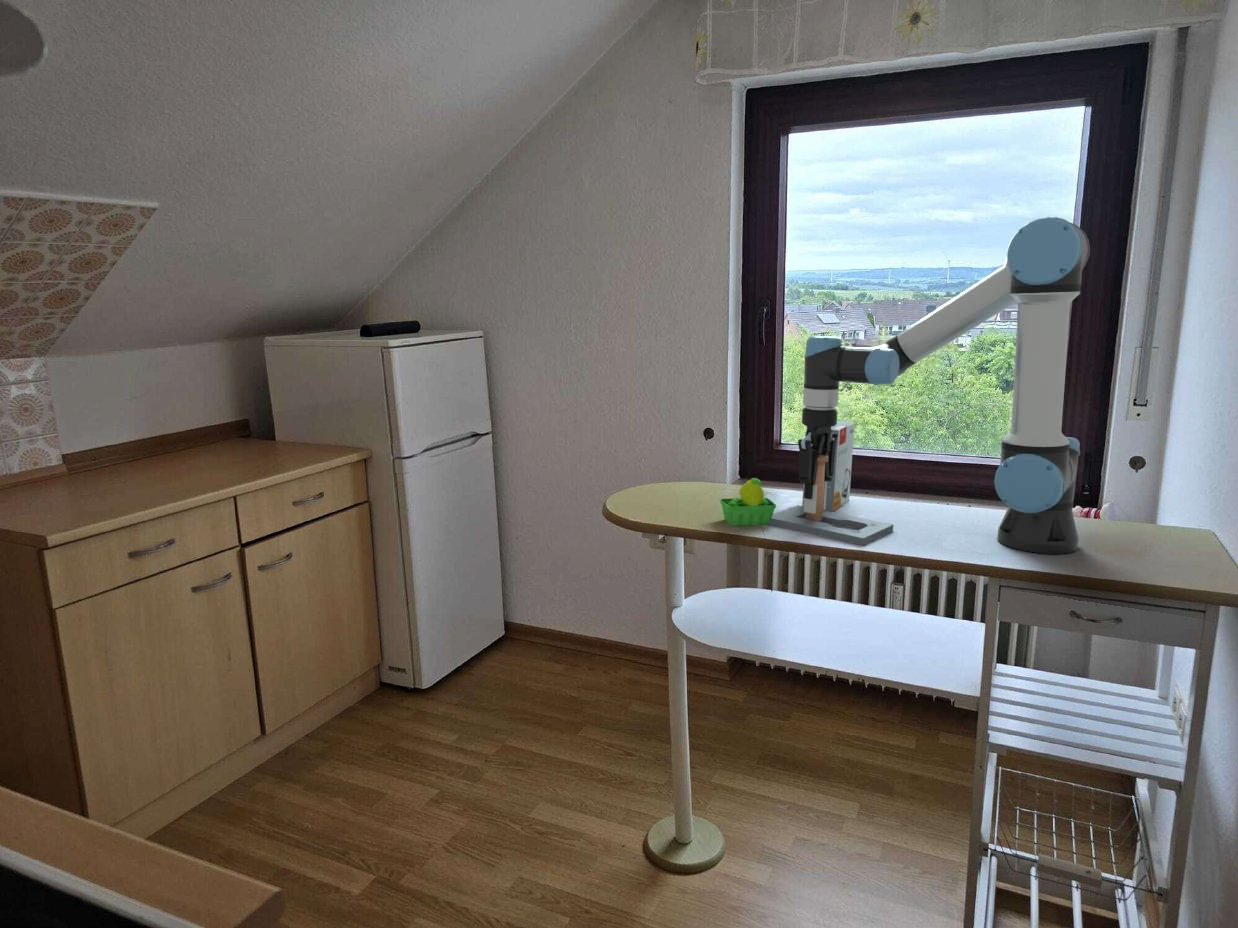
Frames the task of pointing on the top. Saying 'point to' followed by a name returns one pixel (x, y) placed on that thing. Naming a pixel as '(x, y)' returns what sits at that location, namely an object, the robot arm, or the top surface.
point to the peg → (819, 489)
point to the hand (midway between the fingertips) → (814, 510)
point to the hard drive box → (840, 467)
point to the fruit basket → (748, 506)
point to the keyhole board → (798, 521)
